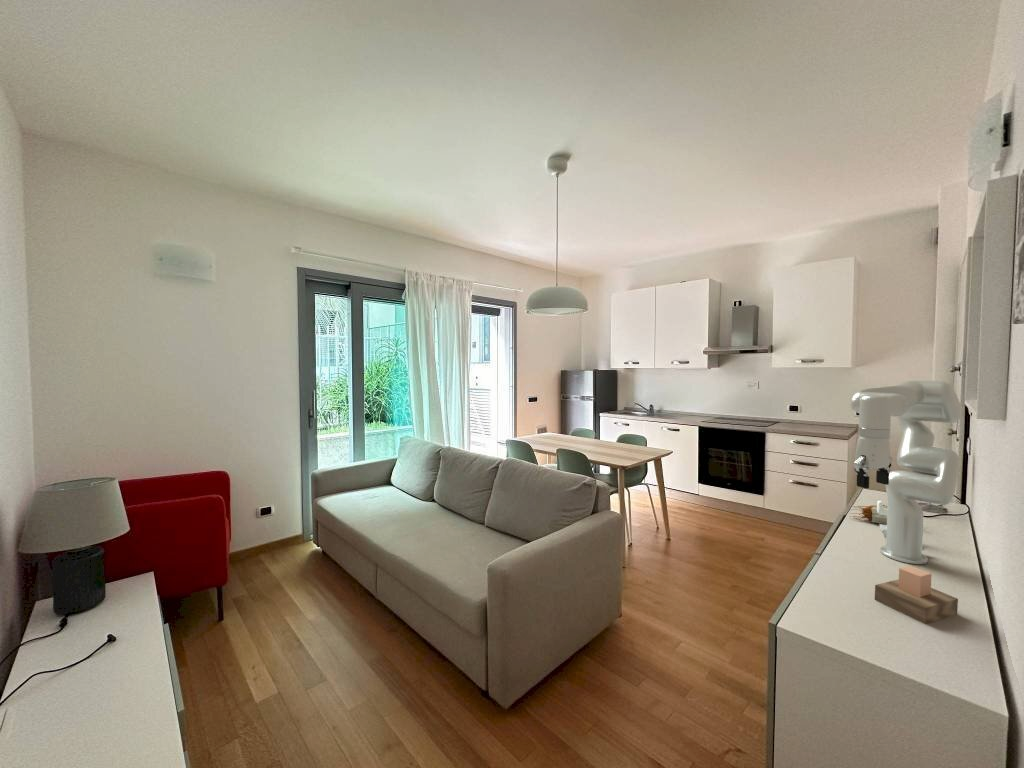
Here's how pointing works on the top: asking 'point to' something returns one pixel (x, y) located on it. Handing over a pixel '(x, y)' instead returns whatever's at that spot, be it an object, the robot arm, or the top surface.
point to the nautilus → (871, 514)
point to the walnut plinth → (916, 602)
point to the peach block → (915, 581)
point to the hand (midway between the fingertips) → (872, 485)
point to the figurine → (883, 512)
